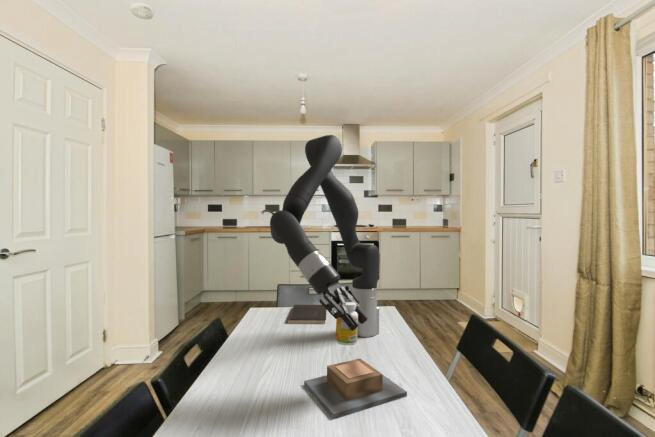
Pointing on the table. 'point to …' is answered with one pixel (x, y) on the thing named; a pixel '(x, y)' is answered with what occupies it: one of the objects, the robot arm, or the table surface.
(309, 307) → the hardcover book
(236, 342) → the table surface
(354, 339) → the supplement bottle
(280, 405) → the table surface
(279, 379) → the table surface
